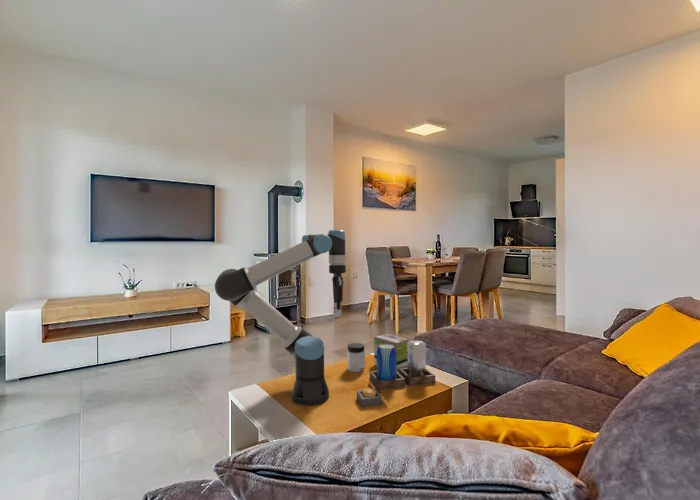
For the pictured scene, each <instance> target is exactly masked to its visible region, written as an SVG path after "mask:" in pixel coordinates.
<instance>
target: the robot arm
mask: <svg viewBox="0 0 700 500" xmlns="http://www.w3.org/2000/svg"><path fill="white" fill-rule="evenodd" d="M327 233H328V234H324V233H319V234H305V235H302V237H301V242H300V243H298V244H296V245H294V246H291V247H290V248H287V249H286V250H283V251H281V252H279V253H277V254H274V255H273V256H270V257H269V258H267V259H264V260H263V261H260V262H258V263H255V264H253V265H251V266H249V267H246V266H243V267H242V268H240V269H236V268H229V269H226V270H223V271H222V272H221V273H220V274H219V275H218V276H217V278H216V280H215V283H214V291H215V293H216V295H217V296H218V297H219V298H220V299H221V300H224V301H228V302H230V303H231V304H232V305H233V306H234V307H241V308H243V309H244V310H245V311H246V312H247V313H248V314H250V316H252V317H253V318H254V319H255V320H256V321H258V323H260V324H261V325H262V326H263V327H265V328H266V330H268V331H269V332H270V333H271V334H273V336H275V337H276V338H277V339H278V340H279V341H281V343H282V344H281V345H282V348H283V349H284V350H286V351H287V352H288V353H289V354H290V355H291V356H292V357H293V358H294V363H295V381H294V384H293V388H292V391H291V401H292V402H293V403H295V404H297V405H301V406H315V405H320V404H322V403H325V402H326V401H327V400H329V398H330V390H329V387H328V384H327V382H326V379H325V345H324V341H323V340H322V339H321V338H319V337H316V336H314V335H313V334H311V333H309V332H308V331H306V330H305V328H303V327H302V326H297V325H294V323H292V322H291V321H290V320H289V319H288V318H287V317H286V316H285V315H283V314H282V312H280V311H279V310H277V309H276V307H275V306H273V305H272V304H271V303H270V302H269V301H268V300H266V299H265V298H264V297H263V296H262V295H261V294H259V293H258V292H257V291H256V288H257V286H258V285H260V284H262V283H264V282H267V281H269V280H270V279H273V278H274V277H276V276H279V275H281V274H282V273H284V272H287V271H288V270H290V269H293V268H294V267H296V266H298V265H301V264H302V263H305V262H306V261H309V260H311V259H313V258H315V257H317V256H319V255H321V254H326V253H327V252H328V264H329V266H328V271H329V274H333V277H331V282H332V294H333V303H334V317H336V318H337V317H338V318H339V317H342V302H343V294H344V279H343V277H342V274H345V273H346V272H347V269H346V267H347V266H346V259H347V258H348V257H347V256H346V241H347V240H346V232H345V230H342V229H336V230H335V229H333V230H332V229H331V230H329V231H328V232H327Z"/></svg>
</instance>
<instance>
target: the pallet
mask: <svg viewBox="0 0 700 500" xmlns="http://www.w3.org/2000/svg"><path fill="white" fill-rule="evenodd" d="M368 379H369V380H368V381H369V382H370V384H371V385H372V386H373V389H376V390H377V391H378V392H379V394H380V395H381V394H382V392H381V391H382V390H385V391H386V390H392V389H401V388H407V387H416V386H423V385H424V386H425V385H434V384H437V382H436V375H435V374H434V373H433V372H431V371H430V370H429V369H428V368H426V376H418V377H410V376H409V375H408V367H402V368H399V369H398V371H397V379H392V380H383V381H380V380H379V379H378V378H377V370H374V371H373V370H372V371H369V378H368Z"/></svg>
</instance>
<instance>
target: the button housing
mask: <svg viewBox="0 0 700 500" xmlns="http://www.w3.org/2000/svg"><path fill="white" fill-rule="evenodd" d="M373 389H374V390H375V391H376V396H375V397H367V398H364V397H363V390H364V389H360V390H356V400H357V401H358V403H359V404H360V406H361V408H366V407H371V406H372V407H373V406H380V405H381V406H382V405H383V397H382V395H381V394H379V392H378V391H377V390H376V389H375V388H373Z"/></svg>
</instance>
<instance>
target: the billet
mask: <svg viewBox="0 0 700 500" xmlns="http://www.w3.org/2000/svg"><path fill="white" fill-rule="evenodd" d="M408 341H409V342H407V364H408V365H407V368H408V375H409V376H410V377H418V376H426V369H427V367H426V366H427V364H426V361H427V360H426V359H427V357H426V355H427V353H426V351H427V349H426V346H427V345H426V342H425V341H422V340H408Z"/></svg>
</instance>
